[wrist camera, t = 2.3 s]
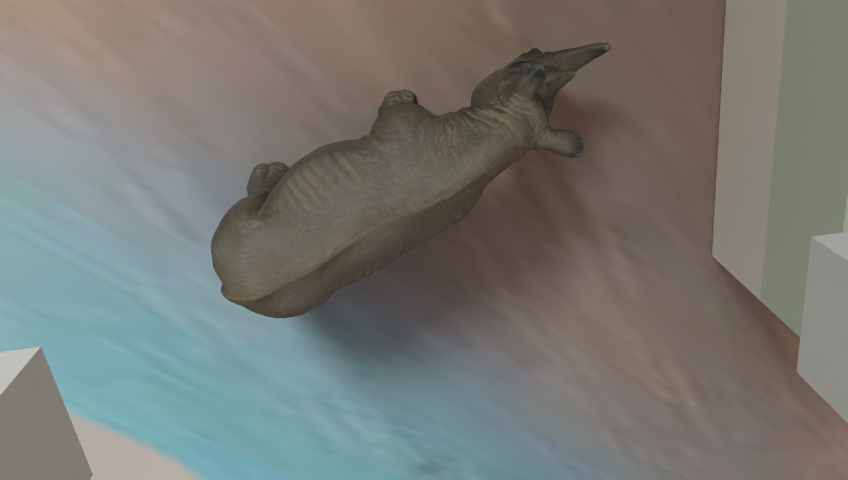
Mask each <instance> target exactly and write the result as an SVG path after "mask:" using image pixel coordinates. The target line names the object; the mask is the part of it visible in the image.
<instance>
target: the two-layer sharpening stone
mask: <svg viewBox="0 0 848 480" xmlns="http://www.w3.org/2000/svg"><path fill="white" fill-rule="evenodd" d="M842 232H848V0H726V13H725V31H724V49H723V67H722V85H721V102H720V120H719V138H718V156H717V174H716V192H715V210H714V227H713V245H712V256H713V257H714V258H715V259H716V260H717V261H718V262H719V263H720V264H721V265H722V266H723V267H724V268H726V269H727V270H728V271H729V272H730V273H731V274H732V275H733V276H734V277H735V278H736V279H737V280H738V281H740V282H741V283H742V284H743V285H744V286H745V287H746V288H747V289H748V290H749V291H750V292H751V293H752V294H754V295H755V296H756V297H757V298H758V299H759V300H760V301H761V302H762V303H763V304H764V305H765V306H766V307H768V308H769V309H770V310H771V311H772V312H773V313H774V314H775V315H776V316H777V317H778V318H779V319H780V320H782V321H783V322H784V323H785V324H786V325H787V326H788V327H789V328H790V329H791V330H792V331H793V332H794V333H796V334H797V335H798V336H799V337H800V336H801V327H802V318H803V308H804V299H805V290H806V281H807V272H808V263H809V254H810V245H811V237H814V236H821V235H828V234H835V233H842Z"/></svg>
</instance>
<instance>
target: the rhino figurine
mask: <svg viewBox="0 0 848 480" xmlns="http://www.w3.org/2000/svg"><path fill="white" fill-rule="evenodd" d="M610 49H611V45H610V44H609V43H596V44H590V45H586V46H582V47H577V48H572V49H566V50H561V51H557V52H541V51H540V50H539V49H537V48H534V49H532V50H531V51H529V52H528V53H524V54H522V55H520V56H519V57H518V58H516V59H515V60H514V61H512V62H511V63H510V64H508V65H507V66H506V67H504V68H501V69H499V70H497V71H495V72H494V73H492V74H490V75H489V76H488V77H487V78H485V79H484V80H483V81H481V82H480V83H479V84H478V86H477V87H476V88H475V89H474V91H473V93H472V98H471V106H470V107H467V108H461V109H459V110H458V112H449V113H446V114H443V115H441V116H436V115H434V114H432V113H431V112H429V111H428V110H426V109H425V108H423V107H421V106H419V105H417V104H416V98H415V94H414V93H412V92H411V91H409V90H401V91H393V92H390V93H388V94H387V95H386V96H385V99H384V101H383V103H382V105H381V106H380V108H379V111H378V118H377V119H376V121H375V122H374V124H373V126H372V129H371V133H370V135H367V136H364V137H362V138H360V139H358V140H346V141H341V142H336V143H332V144H328V145H325V146H322V147H320V148H318V149H316V150H314V151H313V152H311V153H309V154H308V155H306V156H305V157H303V158H301V159H300V160H299V161H297V162H296V163H295V164H293V165H292V166H291V167H290V168H288V167H287V166H286V165H285V164H283V163H279V162H275V163H272V164H270V165H268V164H259V165H257V166H256V167H255V168H254V170H253V172H252V174H251V177H250V180H249V183H248V186H247V191H248V197H246V198H243V199H241V200H239V201H238V202H237V203H236V204H235V205H233V206H232V207H231V208H230V209H229V210H228V212H227V213H226V214H225V216H224V217H223V218H222V220H221V222H220V224H219V226H218V228H217V230H216V232H215V233H214V236H213V238H212V243H211V253H212V258H213V267H214V269H215V272H216V274H217V275H218V277H219V278H220V280H221V281H222V283H223V285H222V287H221V293H222V294H223V296H224V297H225V298H226V299H228V300H229V301H231V302H233V303H236V304H238V305H241V306H243V307H245V308H247V309H249V310H251V311H253V312H255V313H258V314H261V315H264V316H268V317H273V318H287V317H294V316H298V315H302V314H304V313H306V312H307V311H309V310H311V309H312V308H314V307H316V306H319V305H321V304H323V303H324V302H325V301H326V300H327V299H328V298H329V297H330V296H331V295H332V294H333V292H335V291H336V290H338V289H339V288H340V287H342V286H344V285H347V284H350V283H352V282H354V281H357V280H359V279H361V278H364V277H366V276H368V275H370V274H372V273H374V272H376V271H377V270H379V269H381V268H383V267H385V266H386V265H388V264H389V263H391V262H392V261H394V260H395V259H397V258H398V257H399V256H400V255H401V254H403V253H404V252H406V251H408V250H409V249H411V248H413V247H415V246H416V245H418V244H420V243H421V242H423V241H425V240H427V239H429V238H430V237H432V236H434V235H436V234H438V233H440V232H442V231H444V230H446V229H447V228H449V227H450V226H451V225H453V224H454V223H456V222H458V221H460V220H462V219H463V218H464V217H465V216H466V215H467V214H468V213H469V211H470V210H471V209H472V207H473V206H474V205H475V203H476V202H477V201H478V199H479V198H480V196H481V194H482V192H483V190H484V188H485V187H486V186H487V185H488V184H489V183H490V182H491V181H492V180H493V179H494V178H495V177H496V176H497V175H498V174H500V173H501V172H502V171H503V170H505V169H506V168H507V167H509V166H510V165H511V164H512V163H513V162H515V161H517V160H519V159H520V158H521V157H522V156H523V155H524V154H525V153H526V152H527V151H529V150H530V149H547V150H550V151H552V152H554V153H556V154H558V155H561V156H565V157H570V158H571V157H581V156H582V155H584V154H585V147H584V145H583V142H582V139H581V137H580V136H579V135H578V134H577V133H575V132H573V131H571V130H562V129H561V130H554V129H552V128H551V127H550V125H549V121H548V117H549V115H550V113H551V111H552V105H553V100H554V97H555V95H556V93H557V92H558V91H559V89H561V88H562V87H563V86H564V85H565V84H567V83H568V82H569V81H570V80H571V79H572V78H573V77H574V76H575V72H576V71H577V70H578V69H580V68H581V67H583V66H585V65H586V64H588V63H589V62H590V61H592V60H594V59H595V58H597V57H599V56H601V55H602V54H604V53H606V52H608V51H609V50H610Z"/></svg>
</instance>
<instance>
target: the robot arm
mask: <svg viewBox="0 0 848 480" xmlns="http://www.w3.org/2000/svg"><path fill="white" fill-rule="evenodd" d="M797 373H798V374H799V375H800V376H801V377H802V378H803V379H804V380H805V381H806V382H807V383H808V384H809V385H810V386H811V387H812V388H813V389H814V390H815V391H816V392H817V393H818V394H819V395H820V396H821V397H822V398H823V399H824V400H825V401H826V402H827V403H828V404H829V405H830V406H831V407H832V408H833V409H834V410H835V411H836V412H837V413H838V414H839V415H840V416H841V417H842V418H843V419H844V420H845V421H846V422H847V423H848V232H842V233H835V234H828V235H821V236H814V237H811V245H810V254H809V263H808V272H807V281H806V290H805V299H804V308H803V318H802V327H801V336H800V345H799V354H798V363H797ZM91 476H92V472H91V469H90V467H89V464H88V462H87V459H86V457H85V454H84V452H83V449H82V447H81V444H80V442H79V440H78V437H77V434H76V432H75V430H74V427H73V425H72V422H71V420H70V417H69V415H68V412H67V410H66V407H65V405H64V402H63V400H62V397H61V395H60V392H59V390H58V388H57V385H56V383H55V380H54V378H53V375H52V373H51V370H50V368H49V365H48V363H47V360H46V358H45V355H44V353H43V350H42V348H41V347H34V348H27V349H20V350H13V351H6V352H0V480H90V478H91Z"/></svg>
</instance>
